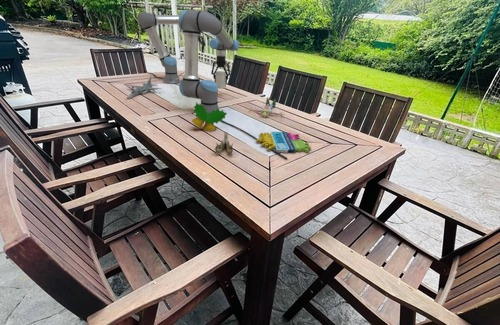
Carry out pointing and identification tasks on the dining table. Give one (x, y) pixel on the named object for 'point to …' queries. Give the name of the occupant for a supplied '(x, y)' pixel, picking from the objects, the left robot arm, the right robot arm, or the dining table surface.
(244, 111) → the dining table surface
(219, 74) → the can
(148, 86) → the airplane
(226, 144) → the jawbone
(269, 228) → the dining table surface
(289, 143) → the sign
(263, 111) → the toy
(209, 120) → the ornament
